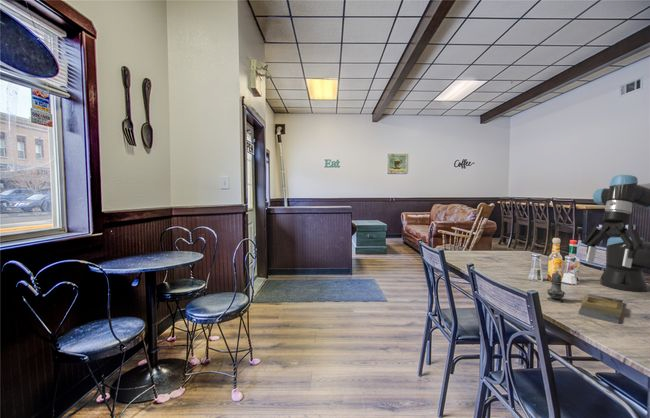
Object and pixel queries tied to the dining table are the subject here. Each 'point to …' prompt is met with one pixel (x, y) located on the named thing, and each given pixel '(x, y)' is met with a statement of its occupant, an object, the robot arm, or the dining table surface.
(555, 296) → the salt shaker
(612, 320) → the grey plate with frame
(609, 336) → the dining table surface
